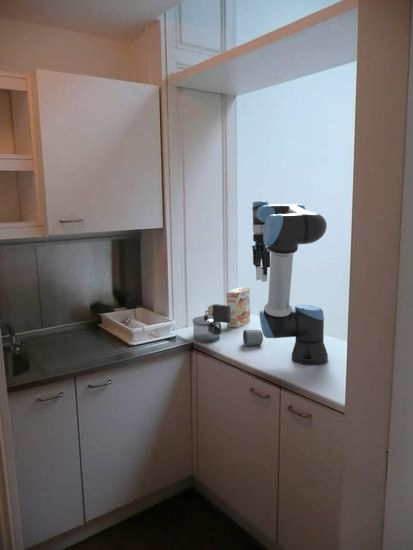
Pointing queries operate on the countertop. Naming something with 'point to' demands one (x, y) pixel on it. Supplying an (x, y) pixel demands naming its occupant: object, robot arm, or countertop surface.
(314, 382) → the countertop surface
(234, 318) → the coffeecake box
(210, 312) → the character mug
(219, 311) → the lid
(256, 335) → the ceramic mug
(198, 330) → the pot
